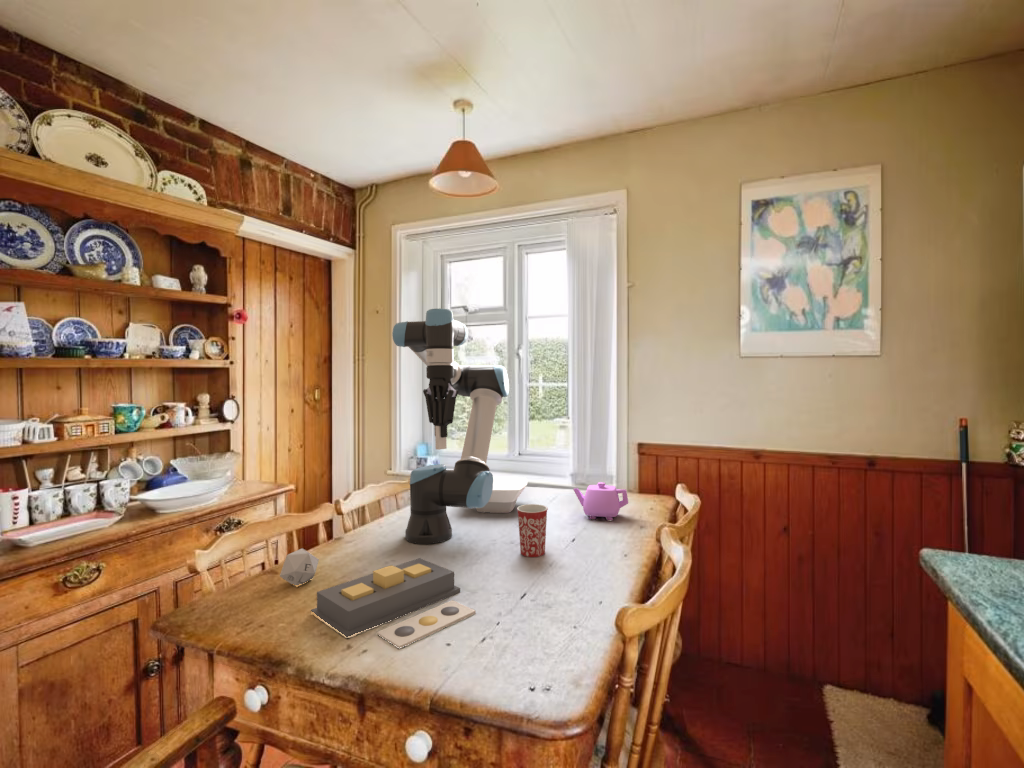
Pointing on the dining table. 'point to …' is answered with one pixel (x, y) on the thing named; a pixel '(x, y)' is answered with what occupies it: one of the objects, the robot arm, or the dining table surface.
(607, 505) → the teapot
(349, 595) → the button
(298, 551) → the die
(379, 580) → the button
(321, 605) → the board
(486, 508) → the bowl
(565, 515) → the dining table surface
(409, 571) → the button
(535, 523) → the mug
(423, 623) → the card
